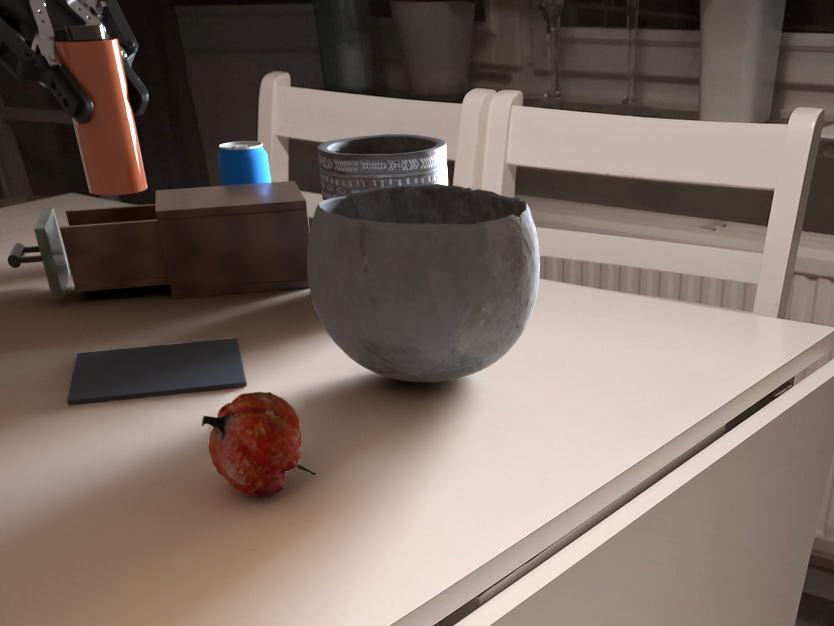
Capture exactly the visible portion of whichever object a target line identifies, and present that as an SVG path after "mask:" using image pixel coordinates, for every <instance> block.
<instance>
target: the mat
mask: <svg viewBox="0 0 834 626" xmlns="http://www.w3.org/2000/svg"><path fill="white" fill-rule="evenodd" d="M75 354H76V355H75V359H74V364H73V370H72V375H71V379H70V384H69V389H68V395H67V398H66V399H67V400H66V403H67V405H69V406H71V405H82V404H88V403H89V404H90V403H98V402H99V403H101V402H108V401H119V400H120V401H121V400H128V399H129V400H130V399H136V398H147V397H155V396H156V397H157V396H165V395H167V396H168V395H176V394H186V393H193V392H195V393H196V392H204V391H205V392H206V391H213V390H222V389H224V390H225V389H232V388H243V387H247V386H248V383H247V378H246V373H245V369H244V364H243V359H242V354H241V348H240V343H239V339H238V337H231V338H229V337H228V338H218V339H209V340H200V341H199V340H195V341H189V342H188V341H187V342H177V343H167V344H157V345H145V346H135V347H125V348H124V347H123V348H114V349H105V350H94V351H93V350H92V351H84V352H76V353H75Z"/></svg>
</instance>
